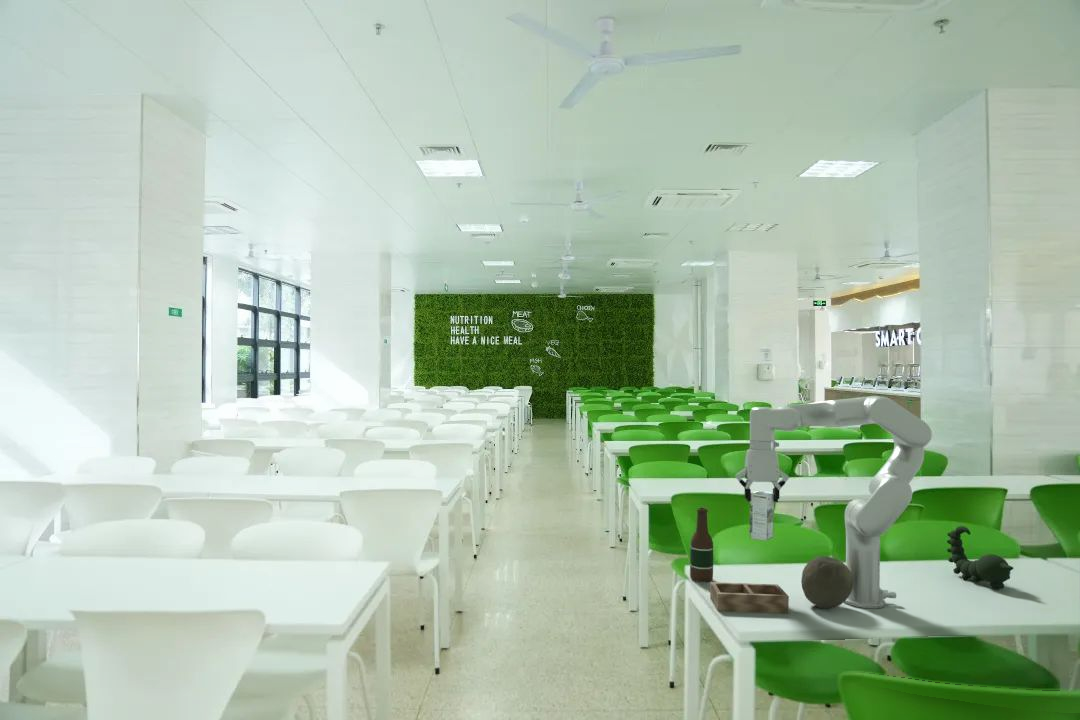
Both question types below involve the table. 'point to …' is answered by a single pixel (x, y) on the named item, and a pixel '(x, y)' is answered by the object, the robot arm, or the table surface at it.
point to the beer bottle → (701, 550)
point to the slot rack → (749, 597)
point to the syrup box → (761, 515)
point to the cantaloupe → (826, 582)
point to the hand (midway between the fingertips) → (761, 500)
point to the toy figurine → (977, 563)
